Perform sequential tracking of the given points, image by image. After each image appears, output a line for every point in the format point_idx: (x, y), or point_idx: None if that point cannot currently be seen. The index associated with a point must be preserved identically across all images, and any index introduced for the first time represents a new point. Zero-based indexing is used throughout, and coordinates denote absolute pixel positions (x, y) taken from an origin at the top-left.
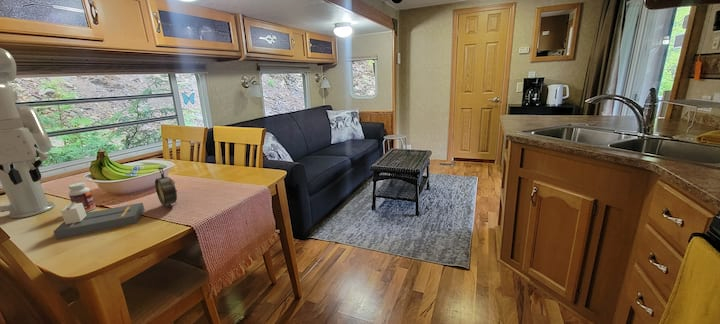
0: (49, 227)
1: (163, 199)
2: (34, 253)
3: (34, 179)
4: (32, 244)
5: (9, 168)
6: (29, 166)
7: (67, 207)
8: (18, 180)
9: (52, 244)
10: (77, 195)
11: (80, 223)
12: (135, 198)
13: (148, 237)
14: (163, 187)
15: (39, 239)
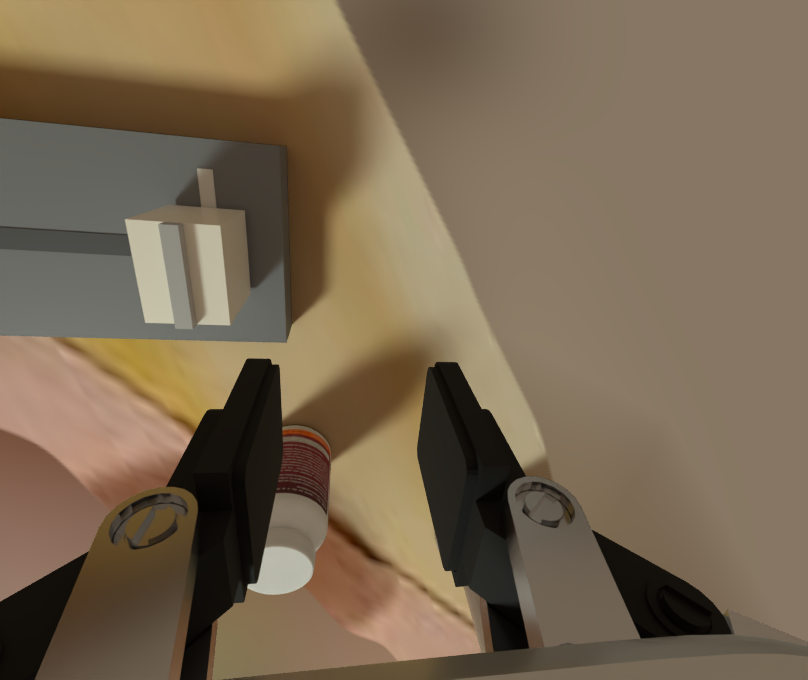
0: (380, 332)
1: None
2: (329, 7)
3: (243, 369)
4: (383, 157)
5: (516, 552)
6: (173, 555)
7: (177, 240)
8: (429, 420)
9: (281, 85)
10: (277, 492)
11: (166, 185)
12: (105, 485)
13: None
14: None
15: (373, 206)
